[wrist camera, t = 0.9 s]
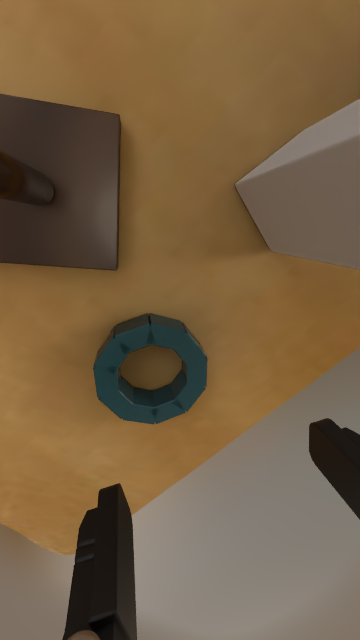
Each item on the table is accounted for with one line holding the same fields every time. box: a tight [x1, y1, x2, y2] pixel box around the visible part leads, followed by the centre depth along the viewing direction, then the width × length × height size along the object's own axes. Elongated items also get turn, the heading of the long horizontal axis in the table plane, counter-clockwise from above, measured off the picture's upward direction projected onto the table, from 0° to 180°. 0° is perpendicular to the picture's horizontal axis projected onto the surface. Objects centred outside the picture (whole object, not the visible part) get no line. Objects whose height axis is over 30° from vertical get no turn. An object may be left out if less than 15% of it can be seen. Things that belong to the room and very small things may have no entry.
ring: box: [93, 313, 207, 424], centre depth 26 cm, size 11×11×3 cm
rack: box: [0, 94, 121, 270], centre depth 14 cm, size 11×11×14 cm
